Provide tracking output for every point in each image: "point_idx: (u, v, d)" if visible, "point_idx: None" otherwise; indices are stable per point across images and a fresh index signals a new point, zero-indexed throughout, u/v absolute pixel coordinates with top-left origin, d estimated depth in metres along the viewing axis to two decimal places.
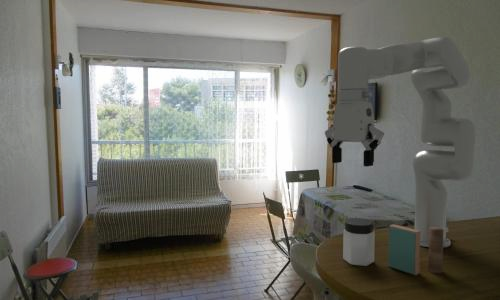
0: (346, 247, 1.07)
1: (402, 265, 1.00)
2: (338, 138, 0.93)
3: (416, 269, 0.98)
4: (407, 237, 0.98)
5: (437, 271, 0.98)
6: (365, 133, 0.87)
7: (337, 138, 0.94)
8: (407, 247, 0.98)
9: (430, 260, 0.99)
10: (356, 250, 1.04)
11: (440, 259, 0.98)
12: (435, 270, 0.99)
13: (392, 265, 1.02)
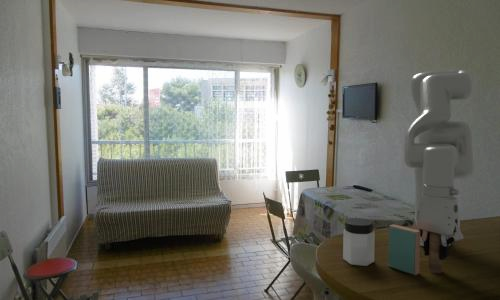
0: (346, 247, 1.07)
1: (402, 265, 1.00)
2: (422, 227, 1.00)
3: (416, 269, 0.98)
4: (407, 237, 0.98)
5: (437, 271, 0.98)
6: (453, 228, 0.94)
7: (421, 227, 1.00)
8: (407, 247, 0.98)
9: (430, 260, 0.99)
10: (356, 250, 1.04)
11: None
12: (435, 270, 0.99)
13: (392, 265, 1.02)
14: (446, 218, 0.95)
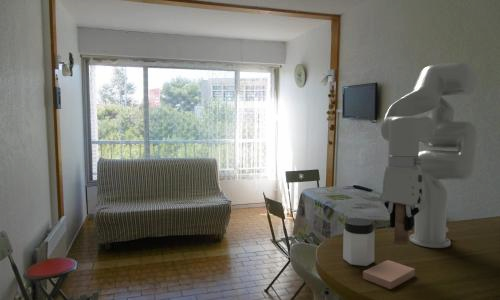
0: (346, 247, 1.07)
1: None
2: (388, 199, 0.99)
3: (412, 275, 0.96)
4: None
5: (402, 243, 0.98)
6: (417, 198, 0.93)
7: (387, 199, 1.00)
8: None
9: (396, 231, 0.99)
10: (356, 250, 1.04)
11: None
12: (400, 242, 0.98)
13: None
14: (410, 188, 0.94)
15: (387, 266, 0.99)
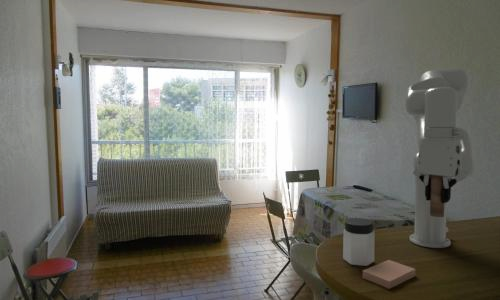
0: (346, 247, 1.07)
1: None
2: (424, 172, 0.99)
3: (412, 275, 0.96)
4: None
5: (439, 215, 0.97)
6: (455, 169, 0.93)
7: (423, 171, 0.99)
8: None
9: (432, 204, 0.98)
10: (356, 250, 1.04)
11: (442, 203, 0.97)
12: (437, 214, 0.97)
13: None
14: (448, 159, 0.93)
15: (388, 265, 0.99)
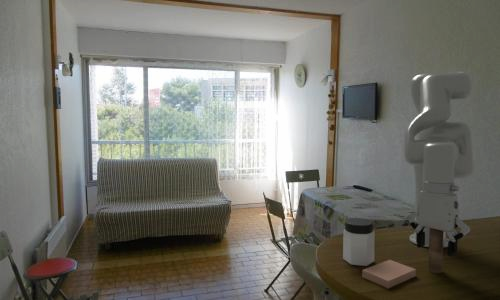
0: (346, 247, 1.07)
1: None
2: (422, 224, 1.00)
3: (412, 275, 0.96)
4: None
5: (437, 271, 0.98)
6: (453, 225, 0.94)
7: (421, 224, 1.00)
8: None
9: (430, 260, 0.99)
10: (356, 250, 1.04)
11: (440, 259, 0.98)
12: (435, 270, 0.99)
13: None
14: (446, 214, 0.95)
15: (388, 265, 0.99)
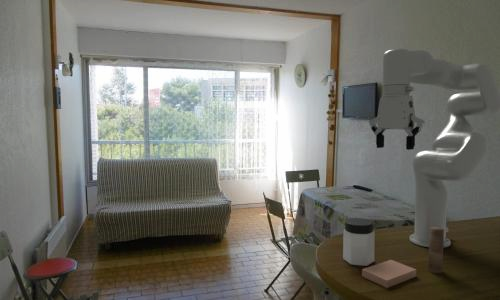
0: (346, 247, 1.07)
1: None
2: (382, 126, 1.10)
3: (412, 275, 0.96)
4: None
5: (437, 271, 0.98)
6: (408, 121, 1.04)
7: (382, 126, 1.10)
8: None
9: (430, 260, 0.99)
10: (356, 250, 1.04)
11: (440, 259, 0.98)
12: (435, 270, 0.99)
13: None
14: (402, 113, 1.04)
15: (389, 265, 0.99)
